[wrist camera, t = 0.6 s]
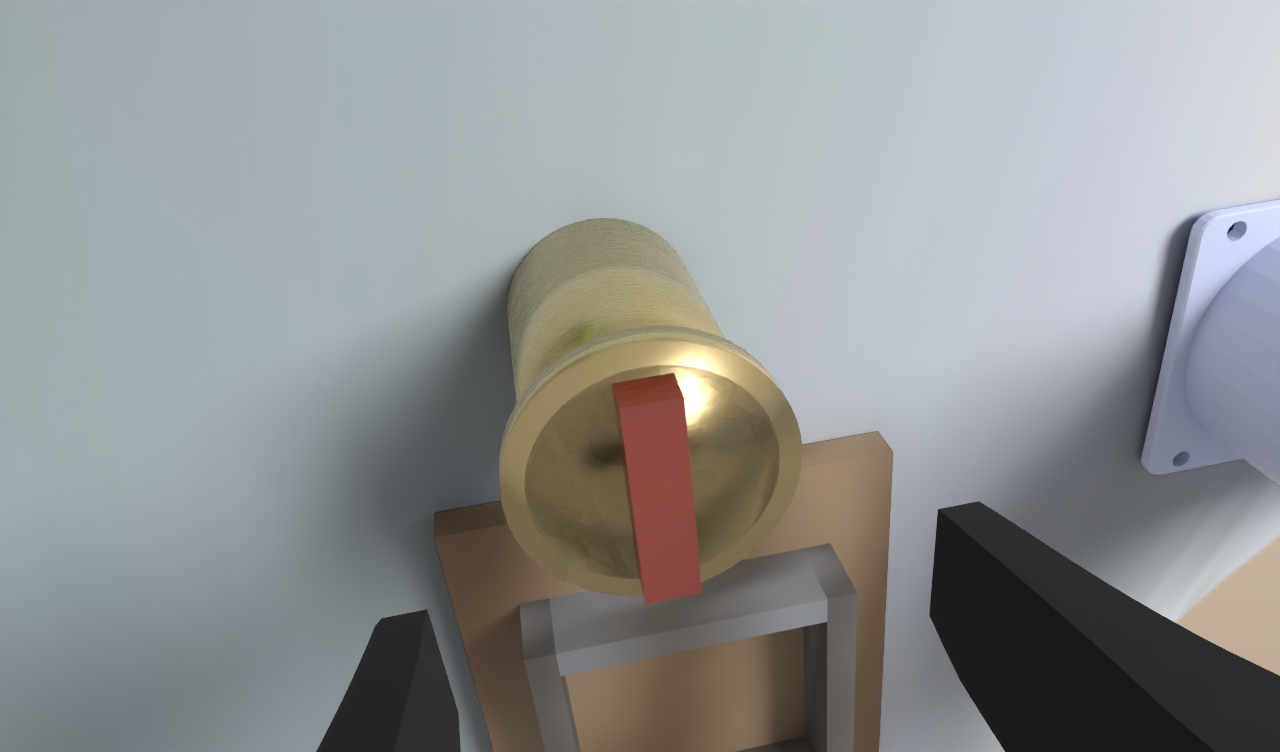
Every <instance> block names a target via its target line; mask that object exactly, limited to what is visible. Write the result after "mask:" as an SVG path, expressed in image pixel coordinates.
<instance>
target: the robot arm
mask: <svg viewBox="0 0 1280 752" xmlns="http://www.w3.org/2000/svg"><path fill="white" fill-rule="evenodd" d="M1234 223H1235V225H1234V227H1233V229H1232V230H1231V231H1230V232H1229V233H1228V234H1227V232H1228V230H1229V228H1230V227H1231V226H1232V225H1233V224H1234ZM1240 459H1244V460H1245V461H1246V462H1248V463H1249V464H1250V465H1252V466H1253V467H1254V468H1256V469H1257V470H1258V471H1260V472H1261V473H1262V474H1264V475H1265V476H1266V477H1268V478H1269V479H1270V480H1271V481H1273V482H1274V483H1275V484H1277V485H1278V486H1279V487H1280V200H1274V201H1268V202H1262V203H1256V204H1250V205H1244V206H1238V207H1232V208H1226V209H1220V210H1214V211H1211V212H1208V213H1205V214H1204V215H1203V216H1201V217H1200V218H1199V219H1198V220H1197V221H1196V222H1195V224H1194V225H1193V227H1192V230H1191V232H1190V237H1189V241H1188V246H1187V250H1186V255H1185V260H1184V264H1183V269H1182V273H1181V278H1180V283H1179V287H1178V292H1177V296H1176V301H1175V306H1174V310H1173V315H1172V319H1171V324H1170V329H1169V333H1168V338H1167V343H1166V347H1165V352H1164V356H1163V361H1162V366H1161V370H1160V375H1159V379H1158V384H1157V389H1156V393H1155V398H1154V402H1153V407H1152V412H1151V416H1150V421H1149V425H1148V430H1147V435H1146V439H1145V444H1144V448H1143V453H1142V458H1141V464H1142V465H1143V467H1144V468H1145V469H1146V470H1148V471H1149V472H1150V473H1151V474H1154V475H1163V474H1168V473H1174V472H1179V471H1184V470H1189V469H1194V468H1199V467H1204V466H1209V465H1214V464H1219V463H1225V462H1230V461H1235V460H1240ZM930 617H931V620H932V622H933V624H934V626H935V628H936V631H937V633H938V635H939V637H940V639H941V642H942V644H943V646H944V648H945V650H946V652H947V654H948V656H949V658H950V660H951V663H952V665H953V667H954V669H955V671H956V673H957V675H958V677H959V679H960V681H961V682H962V684H963V686H964V687H965V689H966V690H967V692H968V694H969V695H970V697H971V698H972V700H973V702H974V703H975V705H976V706H977V708H978V710H979V711H980V713H981V714H982V716H983V718H984V719H985V721H986V722H987V724H988V725H989V727H990V729H991V730H992V732H993V733H994V735H995V736H996V738H997V740H998V741H999V743H1000V744H1001V746H1002V747H1003V749H1004V750H1005V752H1280V676H1279V675H1277V674H1275V673H1273V672H1271V671H1268V670H1266V669H1264V668H1262V667H1260V666H1258V665H1256V664H1254V663H1252V662H1250V661H1248V660H1246V659H1243V658H1241V657H1239V656H1237V655H1235V654H1233V653H1231V652H1229V651H1227V650H1225V649H1223V648H1221V647H1219V646H1217V645H1215V644H1213V643H1211V642H1209V641H1207V640H1206V639H1204V638H1202V637H1200V636H1198V635H1196V634H1194V633H1192V632H1191V631H1189V630H1187V629H1185V628H1184V627H1182V626H1180V625H1178V624H1176V623H1175V622H1173V621H1171V620H1169V619H1167V618H1166V617H1164V616H1162V615H1160V614H1158V613H1157V612H1155V611H1153V610H1151V609H1149V608H1148V607H1146V606H1144V605H1143V604H1141V603H1139V602H1138V601H1136V600H1134V599H1132V598H1131V597H1129V596H1127V595H1126V594H1124V593H1122V592H1121V591H1119V590H1117V589H1116V588H1114V587H1112V586H1111V585H1109V584H1107V583H1106V582H1104V581H1103V580H1101V579H1099V578H1098V577H1096V576H1095V575H1093V574H1091V573H1090V572H1088V571H1087V570H1085V569H1083V568H1082V567H1080V566H1079V565H1077V564H1075V563H1074V562H1072V561H1071V560H1069V559H1068V558H1066V557H1065V556H1063V555H1061V554H1060V553H1058V552H1057V551H1055V550H1054V549H1052V548H1051V547H1049V546H1048V545H1046V544H1044V543H1043V542H1041V541H1040V540H1038V539H1037V538H1035V537H1034V536H1032V535H1031V534H1029V533H1028V532H1026V531H1025V530H1023V529H1021V528H1020V527H1018V526H1017V525H1015V524H1014V523H1012V522H1011V521H1009V520H1008V519H1006V518H1005V517H1003V516H1001V515H1000V514H998V513H997V512H995V511H994V510H992V509H990V508H989V507H987V506H986V505H984V504H982V503H981V502H974V503H969V504H963V505H958V506H953V507H948V508H943V509H938V517H937V529H936V541H935V554H934V566H933V578H932V591H931V603H930ZM316 752H461V751H460V734H459V716H458V710H457V707H456V704H455V700H454V697H453V694H452V690H451V687H450V684H449V680H448V677H447V674H446V670H445V667H444V664H443V660H442V657H441V654H440V650H439V647H438V644H437V640H436V637H435V634H434V630H433V627H432V624H431V621H430V617H429V614H428V611H427V610H422V611H417V612H412V613H407V614H402V615H397V616H392V617H387V618H382V619H381V620H380V621H379V622H378V623H377V625H376V626H375V628H374V630H373V633H372V635H371V638H370V640H369V642H368V645H367V647H366V649H365V652H364V654H363V656H362V659H361V661H360V663H359V666H358V668H357V670H356V672H355V674H354V677H353V679H352V681H351V683H350V685H349V687H348V690H347V692H346V694H345V696H344V698H343V700H342V702H341V704H340V706H339V708H338V710H337V712H336V714H335V716H334V718H333V720H332V722H331V724H330V726H329V728H328V730H327V732H326V734H325V736H324V738H323V740H322V742H321V744H320V746H319V748H318V750H317V751H316Z"/></svg>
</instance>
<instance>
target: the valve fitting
mask: <svg viewBox="0 0 1280 752" xmlns="http://www.w3.org/2000/svg"><path fill="white" fill-rule="evenodd" d="M507 315H508V325H509V336H510V346H511V356H512V367H513V377H514V387H515V398H516V405H515V407H514V409H513V411H512V413H511V415H510V417H509V419H508V421H507V424H506V427H505V430H504V433H503V436H502V441H501V446H500V452H499V482H500V495H501V502H502V508H503V511H504V514H505V518H506V521H507V524H508V526H509V528H510V530H511V532H512V533H513V535H514V537H515V539H516V540H517V542H518V543H519V544H520V546H521V547H522V549H523V550H524V551H525V552H526V553H527V554H528V555H529V556H530V557H531V558H532V559H533V560H534V561H535V562H536V563H537V564H538V565H540V566H541V567H542V568H544V569H545V570H546V571H547V572H549V573H551V574H552V575H554V576H556V577H558V578H559V579H561V580H563V581H565V582H567V583H570V584H572V585H575V586H577V587H580V588H583V589H587V590H590V591H594V592H599V593H605V594H611V595H624V596H641V595H643V596H644V600H645V604H649V603H654V602H659V601H664V600H669V599H674V598H679V597H684V596H689V595H694V594H699V593H702V588H701V582H704V581H706V580H708V579H710V578H712V577H714V576H717V575H719V574H721V573H722V572H724V571H726V570H727V569H729V568H731V567H732V566H734V565H736V564H737V563H738V562H740V561H741V560H742V559H744V558H745V557H746V556H748V555H749V554H750V553H751V552H753V551H754V550H755V549H756V548H757V547H758V546H759V545H760V544H761V543H762V542H763V541H764V540H765V539H766V538H767V537H768V536H769V535H770V533H771V532H772V531H773V530H774V529H775V527H776V526H777V524H778V523H779V522H780V520H781V519H782V517H783V516H784V514H785V512H786V510H787V508H788V507H789V505H790V503H791V501H792V499H793V496H794V493H795V490H796V488H797V485H798V481H799V476H800V472H801V464H802V443H801V434H800V431H799V427H798V423H797V419H796V417H795V415H794V413H793V410H792V408H791V406H790V404H789V402H788V401H787V399H786V397H785V396H784V394H783V392H782V391H781V389H780V388H779V386H778V384H777V383H776V381H775V380H774V378H773V377H772V375H771V374H770V373H769V371H768V370H767V369H766V368H765V367H764V366H763V365H762V364H761V363H760V361H758V360H757V359H756V358H755V357H753V356H752V355H751V354H750V353H749V352H747V351H746V350H745V349H743V348H741V347H740V346H738V345H736V344H735V343H733V342H731V341H729V340H727V339H725V337H724V335H723V333H722V331H721V330H720V328H719V326H718V324H717V323H716V321H715V319H714V317H713V315H712V314H711V312H710V310H709V308H708V306H707V305H706V303H705V301H704V299H703V297H702V296H701V294H700V292H699V290H698V288H697V287H696V285H695V283H694V281H693V280H692V278H691V276H690V274H689V272H688V271H687V269H686V267H685V265H684V263H683V262H682V260H681V258H680V257H679V255H678V254H677V252H676V251H675V250H674V249H673V248H672V247H671V246H670V244H669V243H668V242H666V241H665V240H664V239H663V238H662V237H661V236H659V235H658V234H656V233H655V232H653V231H651V230H650V229H648V228H645V227H643V226H641V225H639V224H636V223H632V222H629V221H625V220H619V219H607V218H600V219H589V220H585V221H580V222H576V223H573V224H570V225H567V226H565V227H563V228H561V229H559V230H557V231H555V232H553V233H551V234H550V235H548V236H547V237H545V238H544V239H542V240H541V241H540V242H539V243H538V244H537V245H536V246H534V247H533V248H532V250H531V251H530V252H529V253H528V254H527V255H526V256H525V258H524V259H523V261H522V262H521V264H520V265H519V267H518V269H517V271H516V273H515V275H514V277H513V280H512V283H511V286H510V289H509V294H508V300H507Z"/></svg>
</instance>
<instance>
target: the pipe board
mask: <svg viewBox="0 0 1280 752" xmlns="http://www.w3.org/2000/svg"><path fill="white" fill-rule="evenodd" d="M892 464H893V451H892V449H891V448H890V447H889V445H888V444H887V443H886V441H885V440H884V439H883V437H882V436H881V435H880V433H879V432H878V431H876V432H871V433H866V434H860V435H855V436H849V437H844V438H839V439H833V440H828V441H822V442H817V443H812V444H806V445H802V464H801V472H800V476H799V481H798V485H797V488H796V490H795V493H794V496H793V499H792V501H791V503H790V505H789V507H788V508H787V510H786V512H785V514H784V516H783V517H782V519H781V520H780V522H779V523H778V524H777V526H776V527H775V529H774V530H773V531H772V532H771V533H770V535H769V536H768V537H767V538H766V539H765V540H764V541H763V542H762V543H761V544H760V545H759V546H758V547H757V548H756V549H755V550H754V551H753V552H751V553H750V554H749V555H748V556H746V557H745V558H744V559H742V560H741V561H740V562H738V563H737V564H736V565H734V566H732V567H731V568H729V569H727V570H726V571H724V572H722V573H721V574H719V575H717V576H714V577H712V578H710V579H708V580H706V581H704V582H701V588H702V593H699V594H694V595H689V596H684V597H679V598H674V599H669V600H664V601H659V602H654V603H649V604H645V600H644V596H643V595H641V596H624V595H611V594H605V593H599V592H594V591H590V590H587V589H583V588H580V587H577V586H575V585H572V584H570V583H567V582H565V581H563V580H561V579H559V578H558V577H556V576H554V575H552V574H551V573H549V572H547V571H546V570H545V569H544V568H542V567H541V566H540V565H538V564H537V563H536V562H535V561H534V560H533V559H532V558H531V557H530V556H529V555H528V554H527V553H526V552H525V551H524V550H523V549H522V547H521V546H520V544H519V543H518V542H517V540H516V539H515V537H514V535H513V533H512V532H511V530H510V528H509V526H508V524H507V521H506V518H505V514H504V511H503V508H502V502H501V501H498V502H493V503H487V504H482V505H477V506H471V507H466V508H460V509H455V510H450V511H444V512H439V513H435V517H434V541H435V545H436V548H437V552H438V556H439V559H440V563H441V566H442V570H443V573H444V577H445V581H446V584H447V588H448V591H449V595H450V598H451V602H452V605H453V609H454V613H455V616H456V620H457V623H458V627H459V630H460V634H461V638H462V641H463V645H464V648H465V652H466V655H467V659H468V662H469V666H470V670H471V673H472V677H473V680H474V684H475V687H476V691H477V695H478V698H479V702H480V705H481V709H482V712H483V716H484V719H485V723H486V727H487V730H488V734H489V737H490V741H491V744H492V748H493V752H879V737H880V716H881V695H882V674H883V653H884V632H885V611H886V590H887V569H888V548H889V527H890V506H891V485H892Z"/></svg>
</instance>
